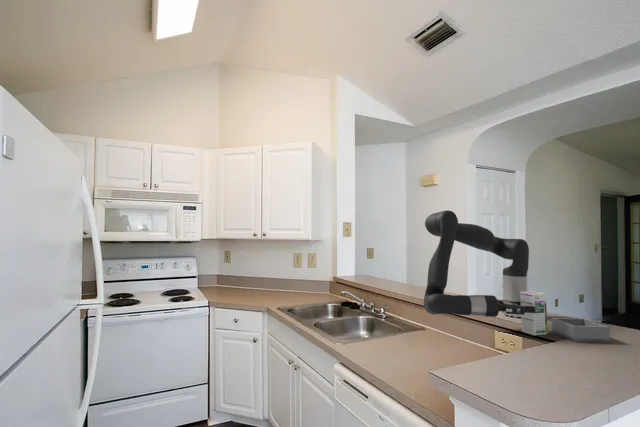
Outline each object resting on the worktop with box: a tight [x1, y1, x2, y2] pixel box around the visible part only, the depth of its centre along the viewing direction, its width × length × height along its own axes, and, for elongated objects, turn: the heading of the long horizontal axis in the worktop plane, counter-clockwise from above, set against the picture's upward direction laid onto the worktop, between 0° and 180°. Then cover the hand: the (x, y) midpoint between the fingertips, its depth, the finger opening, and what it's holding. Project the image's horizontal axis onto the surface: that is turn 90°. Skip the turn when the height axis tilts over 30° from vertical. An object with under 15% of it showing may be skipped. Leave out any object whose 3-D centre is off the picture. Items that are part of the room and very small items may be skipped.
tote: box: [550, 317, 611, 344], centre depth 121 cm, size 12×12×5 cm
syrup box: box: [520, 290, 548, 337], centre depth 125 cm, size 6×6×14 cm
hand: (528, 307), depth 126 cm, fingers open, 8 cm apart
